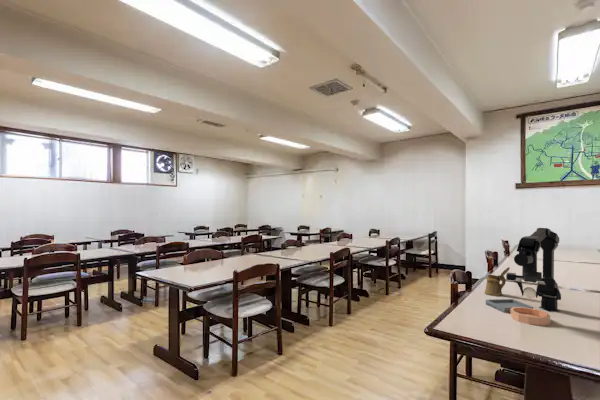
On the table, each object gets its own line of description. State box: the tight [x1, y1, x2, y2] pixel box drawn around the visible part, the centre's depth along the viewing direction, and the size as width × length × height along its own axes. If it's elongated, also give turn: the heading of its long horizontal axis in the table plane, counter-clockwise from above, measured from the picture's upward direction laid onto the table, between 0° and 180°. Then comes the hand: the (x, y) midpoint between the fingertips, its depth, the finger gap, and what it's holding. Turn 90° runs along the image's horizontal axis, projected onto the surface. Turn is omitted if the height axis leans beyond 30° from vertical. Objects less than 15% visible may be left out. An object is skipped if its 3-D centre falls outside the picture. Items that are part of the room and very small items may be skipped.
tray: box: [485, 298, 534, 314], centre depth 171 cm, size 16×14×2 cm
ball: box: [523, 286, 536, 299], centre depth 154 cm, size 5×5×5 cm
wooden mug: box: [484, 266, 510, 297], centre depth 196 cm, size 9×14×18 cm, turn 38°
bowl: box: [509, 307, 551, 326], centre depth 154 cm, size 15×15×4 cm
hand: (529, 296), depth 154 cm, fingers closed on ball, 5 cm apart
